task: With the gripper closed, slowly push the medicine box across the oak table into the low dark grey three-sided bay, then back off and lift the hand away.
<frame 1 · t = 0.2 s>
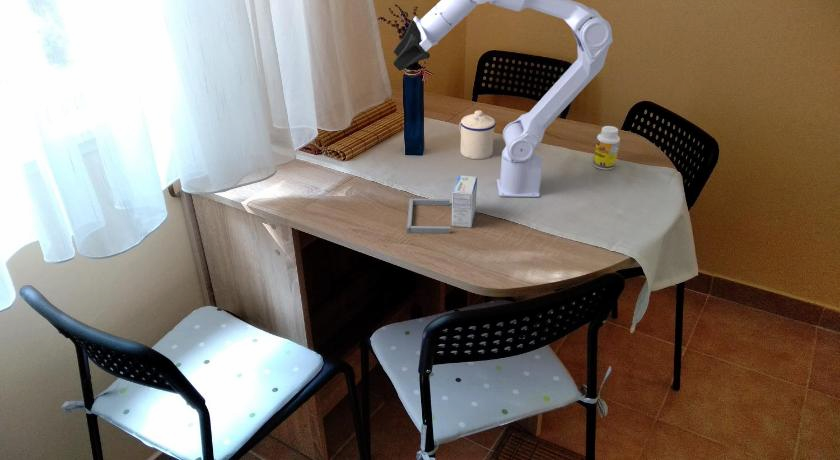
hand: (396, 60, 135), 31 cm above the table, tool tilted 45°, fingers open, 7 cm apart
medicine box: (463, 219, 141), on the table
teacup with lid: (473, 151, 170), on the table
supplement bottle: (603, 166, 162), on the table
grey bay: (430, 217, 141), on the table
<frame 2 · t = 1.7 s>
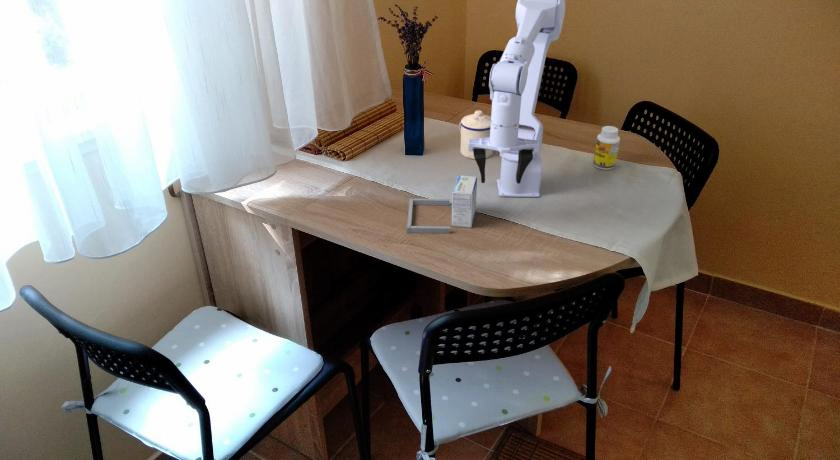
hand: (500, 181, 135), 9 cm above the table, tool pointing down, fingers open, 7 cm apart
nothing on the table moved.
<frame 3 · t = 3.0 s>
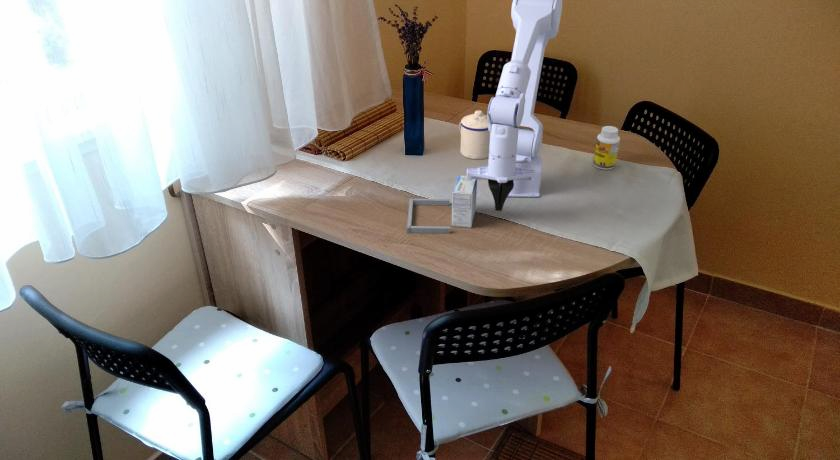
hand: (498, 208, 139), 3 cm above the table, tool pointing down, fingers closed
nothing on the table moved.
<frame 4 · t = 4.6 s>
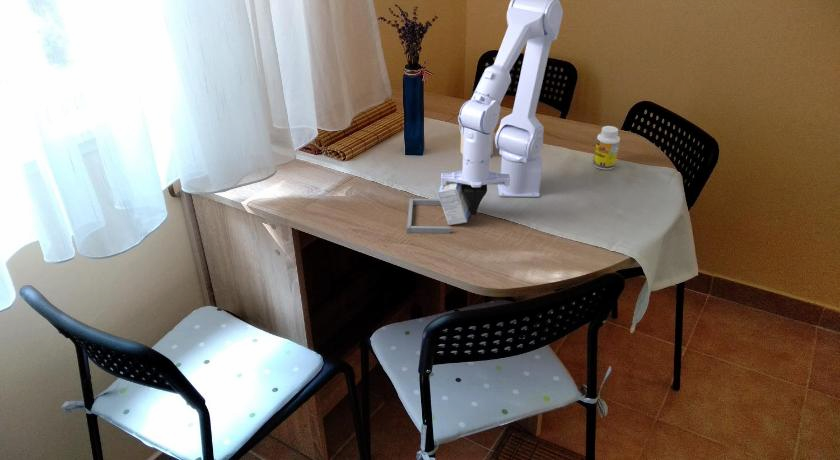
hand: (473, 212, 140), 1 cm above the table, tool pointing down, fingers closed
medicine box: (460, 216, 141), on the table, touching gripper
everything else where it was.
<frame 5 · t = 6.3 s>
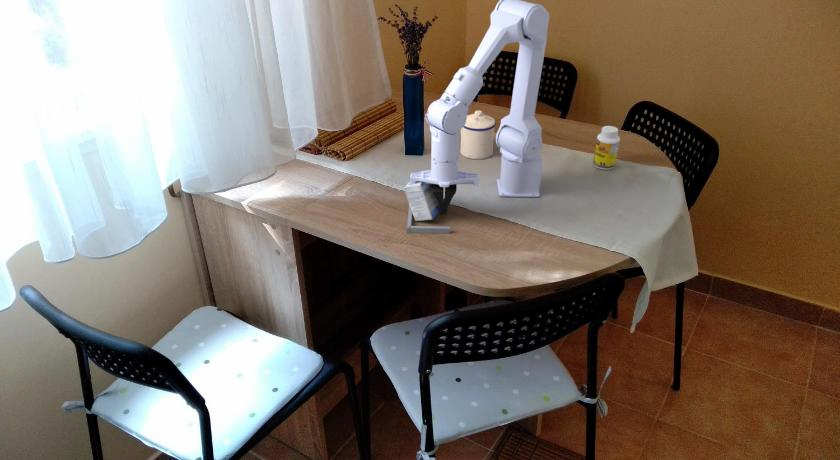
hand: (443, 212, 140), 1 cm above the table, tool pointing down, fingers closed
medicine box: (431, 213, 142), on the table, touching gripper
everything else where it was.
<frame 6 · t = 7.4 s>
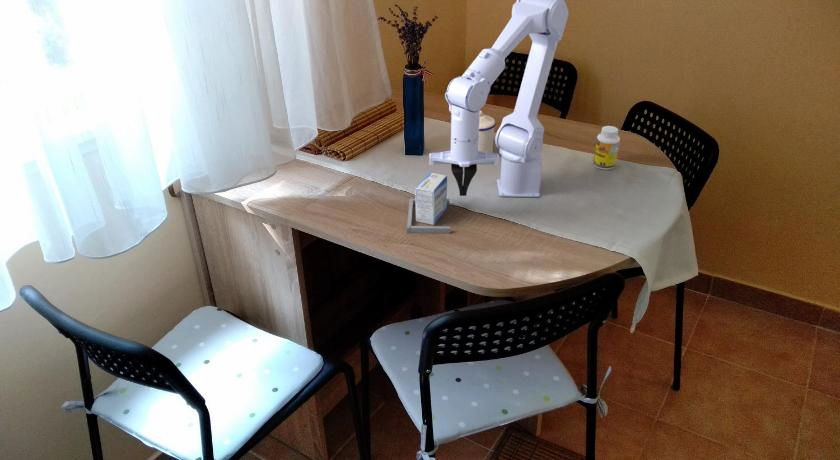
hand: (462, 193, 138), 6 cm above the table, tool pointing down, fingers closed
medicine box: (431, 216, 142), on the table
everything else where it was.
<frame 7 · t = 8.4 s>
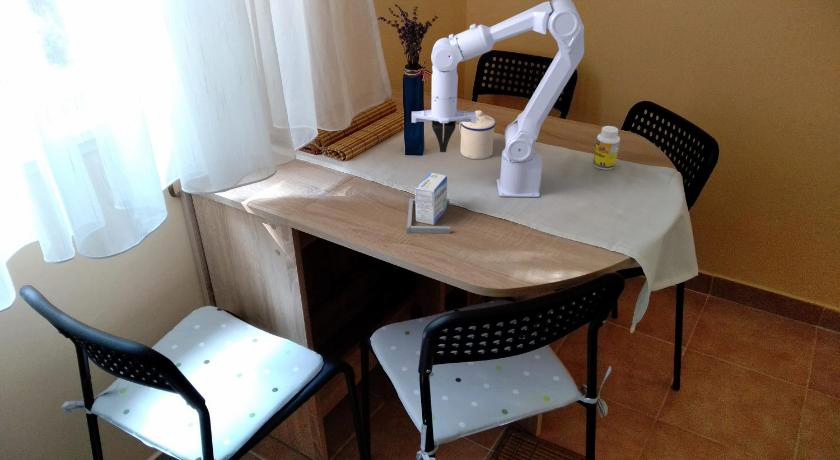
hand: (443, 150, 148), 9 cm above the table, tool pointing down, fingers closed
nothing on the table moved.
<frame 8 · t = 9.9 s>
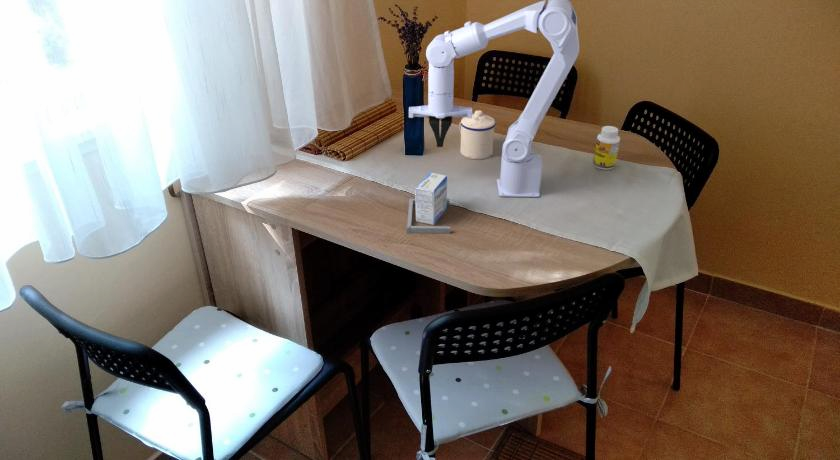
hand: (439, 145, 151), 9 cm above the table, tool pointing down, fingers closed
nothing on the table moved.
at the end: medicine box 1.1 cm off-centre on the grey bay, point 0.0 cm above the grey bay's base; medicine box tilted 0°; medicine box moved 7.3 cm from its start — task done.
